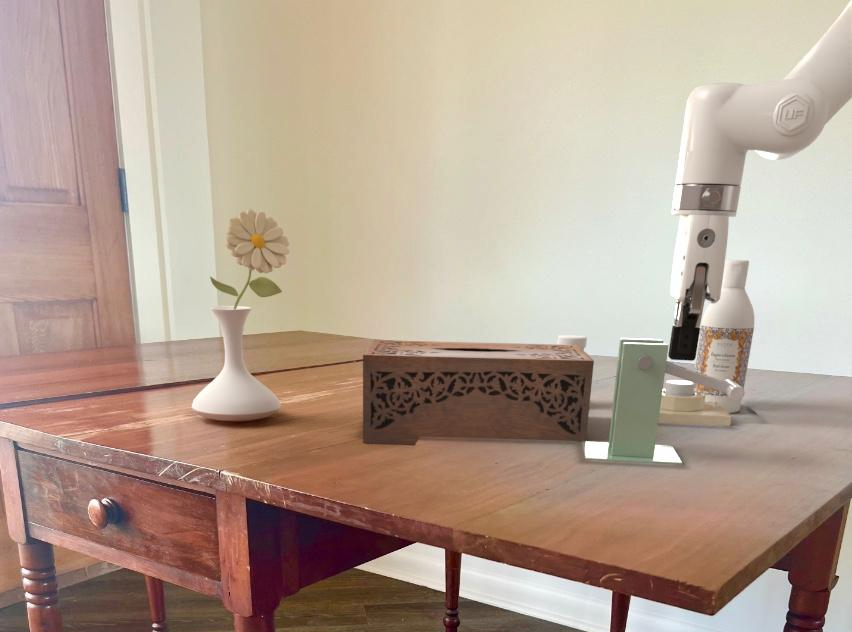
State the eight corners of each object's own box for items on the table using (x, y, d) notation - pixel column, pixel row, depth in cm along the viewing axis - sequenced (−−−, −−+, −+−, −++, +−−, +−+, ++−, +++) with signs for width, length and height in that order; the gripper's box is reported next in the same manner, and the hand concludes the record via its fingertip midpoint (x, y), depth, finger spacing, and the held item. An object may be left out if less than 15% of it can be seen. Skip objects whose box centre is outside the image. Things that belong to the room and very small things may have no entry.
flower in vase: (192, 429, 106) (174, 206, 97) (193, 411, 117) (177, 208, 107) (298, 426, 109) (291, 209, 99) (290, 409, 119) (283, 210, 109)
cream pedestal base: (714, 418, 119) (719, 388, 117) (729, 433, 109) (734, 401, 108) (625, 414, 120) (628, 384, 119) (632, 428, 111) (635, 397, 109)
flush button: (690, 394, 115) (692, 380, 114) (694, 398, 111) (697, 385, 111) (662, 392, 115) (664, 379, 115) (666, 397, 112) (668, 383, 111)
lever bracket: (670, 455, 98) (687, 338, 93) (681, 474, 91) (699, 347, 86) (581, 451, 99) (592, 335, 94) (584, 468, 92) (597, 344, 87)
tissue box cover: (363, 443, 101) (362, 355, 97) (374, 418, 114) (374, 340, 111) (584, 449, 100) (593, 360, 96) (570, 424, 113) (577, 344, 109)
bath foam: (687, 412, 122) (709, 260, 114) (690, 404, 128) (711, 258, 120) (739, 416, 120) (765, 261, 112) (740, 407, 126) (765, 260, 118)
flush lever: (729, 398, 93) (739, 377, 92) (738, 407, 89) (749, 384, 88) (622, 362, 93) (631, 340, 92) (626, 369, 89) (635, 346, 88)
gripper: (751, 202, 97) (722, 369, 104) (725, 205, 111) (701, 353, 118) (682, 200, 98) (658, 366, 105) (665, 203, 112) (645, 350, 119)
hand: (681, 358), depth 112 cm, fingers closed
